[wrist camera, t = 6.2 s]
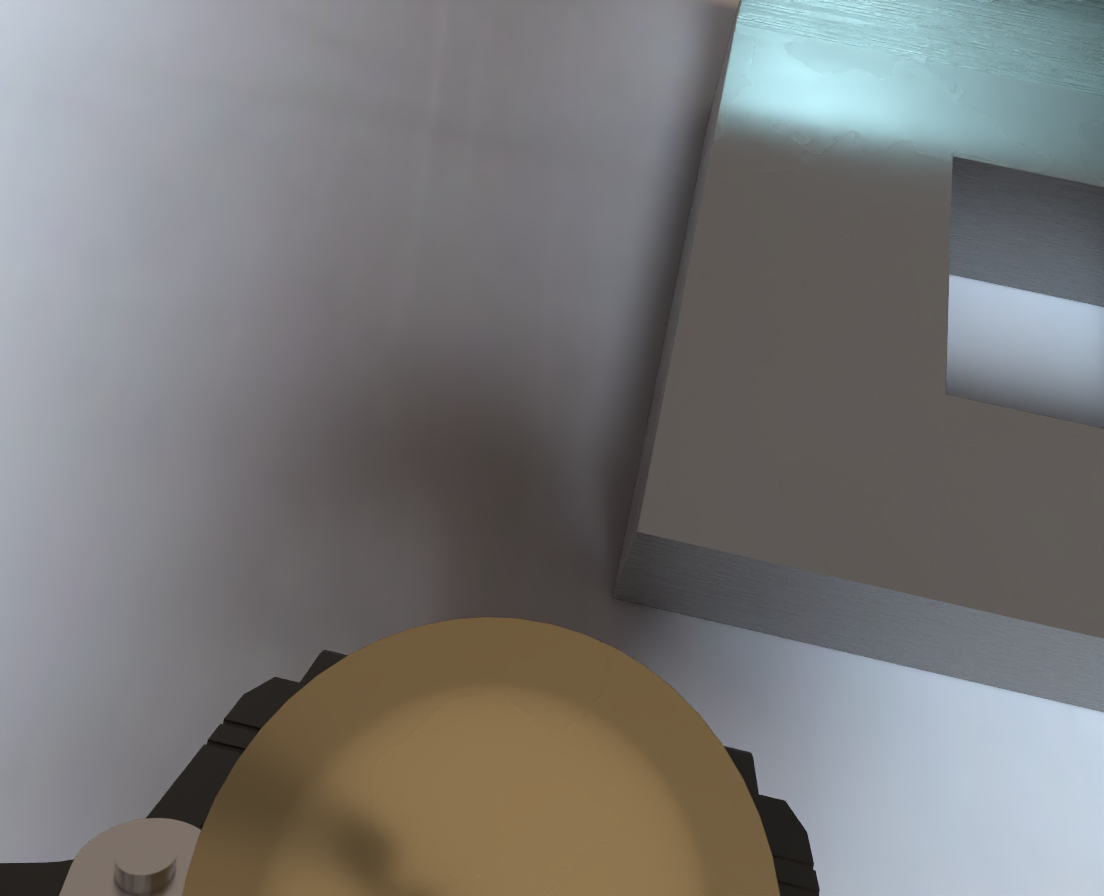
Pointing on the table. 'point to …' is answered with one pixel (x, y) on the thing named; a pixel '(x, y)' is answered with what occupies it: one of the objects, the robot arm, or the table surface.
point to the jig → (882, 344)
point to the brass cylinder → (484, 779)
